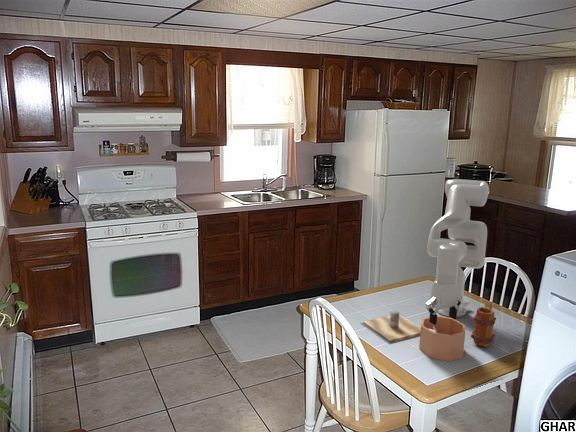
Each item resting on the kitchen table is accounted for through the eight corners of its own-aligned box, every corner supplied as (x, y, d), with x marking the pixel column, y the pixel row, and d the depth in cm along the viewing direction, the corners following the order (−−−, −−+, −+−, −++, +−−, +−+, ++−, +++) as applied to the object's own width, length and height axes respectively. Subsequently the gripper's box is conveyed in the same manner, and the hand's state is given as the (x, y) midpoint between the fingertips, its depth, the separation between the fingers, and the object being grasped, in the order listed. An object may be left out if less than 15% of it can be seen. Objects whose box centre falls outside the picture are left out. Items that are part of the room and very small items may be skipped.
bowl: (441, 336, 189) (443, 313, 186) (472, 354, 175) (474, 330, 173) (411, 344, 182) (412, 320, 180) (439, 364, 168) (442, 338, 166)
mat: (397, 315, 208) (397, 314, 207) (429, 334, 190) (429, 333, 190) (360, 324, 199) (360, 323, 199) (389, 345, 182) (389, 344, 182)
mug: (491, 351, 177) (495, 315, 174) (468, 346, 181) (472, 310, 178) (497, 336, 189) (501, 301, 186) (476, 330, 193) (479, 297, 190)
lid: (397, 315, 206) (398, 301, 204) (425, 333, 190) (426, 317, 189) (363, 323, 199) (364, 308, 197) (389, 342, 183) (390, 326, 181)
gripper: (456, 271, 179) (452, 312, 183) (421, 278, 172) (418, 321, 176) (471, 277, 172) (467, 320, 176) (435, 285, 165) (432, 329, 169)
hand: (442, 320), depth 176 cm, fingers open, 9 cm apart
